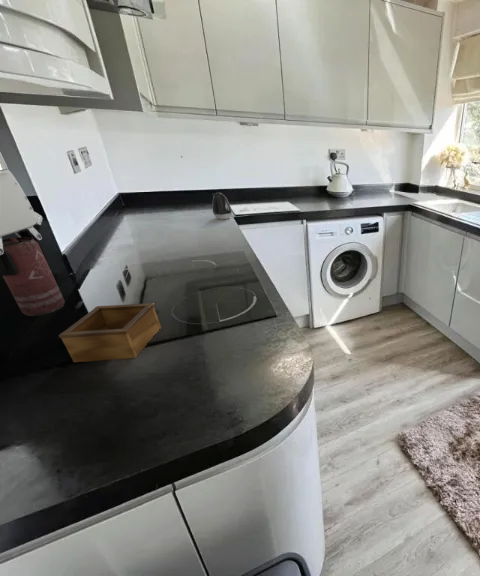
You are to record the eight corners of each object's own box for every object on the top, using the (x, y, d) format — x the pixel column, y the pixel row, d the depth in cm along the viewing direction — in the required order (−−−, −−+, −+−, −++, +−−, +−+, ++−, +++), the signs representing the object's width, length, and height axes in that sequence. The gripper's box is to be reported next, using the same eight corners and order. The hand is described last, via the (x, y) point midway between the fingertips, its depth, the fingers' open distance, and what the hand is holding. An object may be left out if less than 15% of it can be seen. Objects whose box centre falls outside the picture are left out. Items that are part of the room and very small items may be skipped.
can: (60, 298, 68) (30, 233, 62) (69, 307, 64) (39, 240, 58) (19, 309, 63) (-18, 241, 57) (27, 320, 60) (-11, 248, 54)
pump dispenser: (224, 215, 200) (218, 190, 193) (236, 217, 196) (232, 191, 189) (210, 219, 191) (204, 193, 184) (223, 221, 187) (217, 194, 181)
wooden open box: (72, 362, 74) (58, 335, 71) (107, 331, 86) (97, 306, 82) (136, 358, 76) (125, 331, 72) (162, 327, 87) (154, 303, 84)
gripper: (-6, 159, 59) (38, 252, 67) (-123, 170, 44) (-48, 288, 52) (40, 160, 60) (78, 251, 68) (-58, 170, 45) (6, 286, 53)
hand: (23, 266), depth 60 cm, fingers closed on can, 6 cm apart
